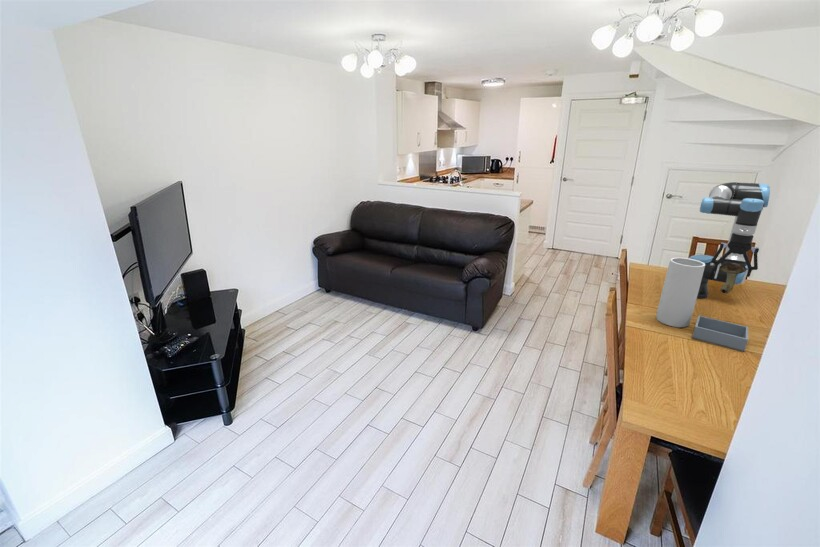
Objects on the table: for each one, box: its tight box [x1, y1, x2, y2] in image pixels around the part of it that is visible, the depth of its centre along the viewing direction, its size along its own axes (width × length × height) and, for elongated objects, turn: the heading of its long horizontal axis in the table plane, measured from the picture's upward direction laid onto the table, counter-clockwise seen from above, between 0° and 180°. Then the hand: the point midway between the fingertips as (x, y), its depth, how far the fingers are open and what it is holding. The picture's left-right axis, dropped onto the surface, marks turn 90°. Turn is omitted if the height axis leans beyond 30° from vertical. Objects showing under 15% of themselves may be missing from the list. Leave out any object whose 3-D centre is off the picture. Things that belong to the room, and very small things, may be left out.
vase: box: [655, 257, 705, 328], centre depth 187 cm, size 14×14×32 cm
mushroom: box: [720, 263, 746, 295], centre depth 180 cm, size 9×9×15 cm
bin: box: [691, 315, 749, 353], centre depth 176 cm, size 15×19×6 cm
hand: (728, 280), depth 180 cm, fingers closed on mushroom, 9 cm apart
